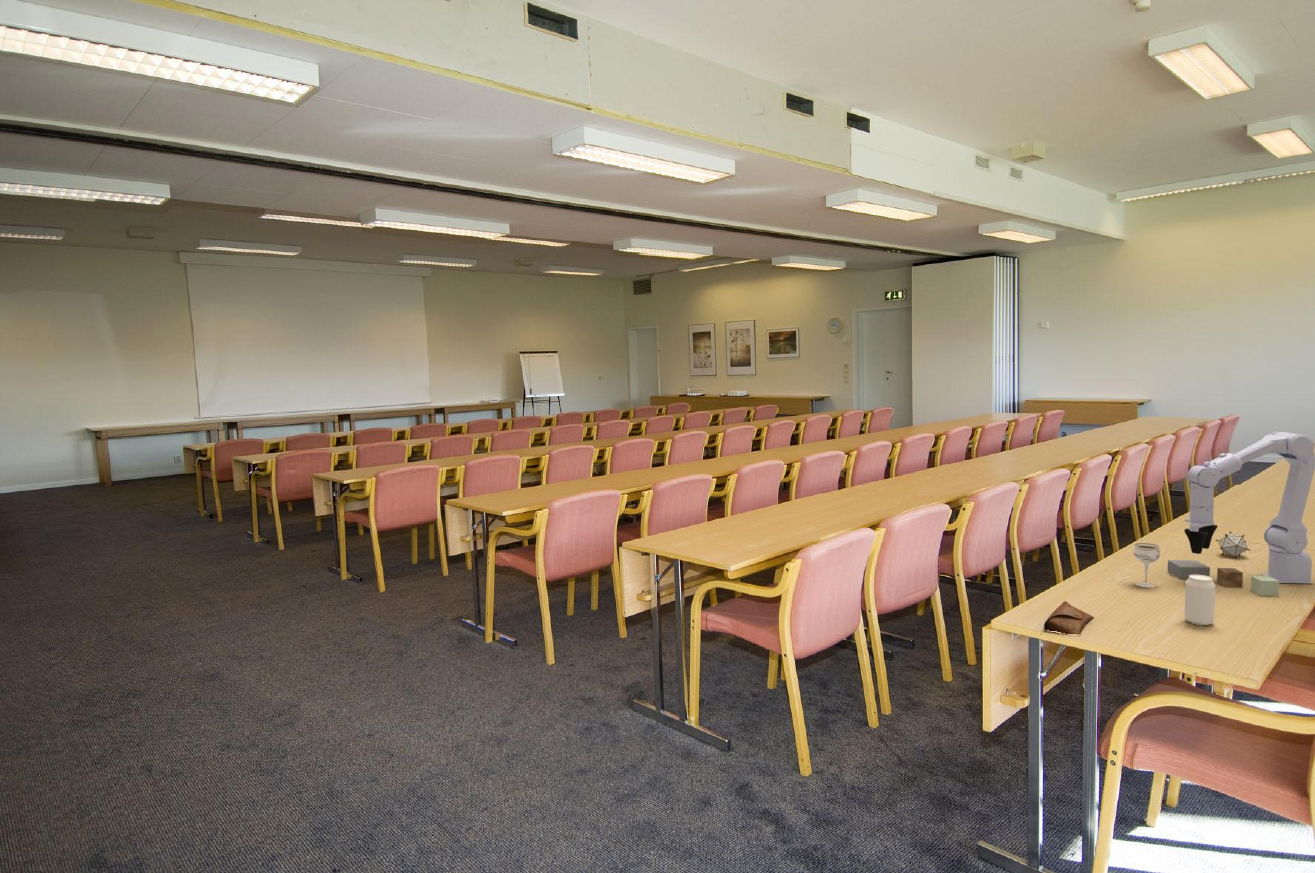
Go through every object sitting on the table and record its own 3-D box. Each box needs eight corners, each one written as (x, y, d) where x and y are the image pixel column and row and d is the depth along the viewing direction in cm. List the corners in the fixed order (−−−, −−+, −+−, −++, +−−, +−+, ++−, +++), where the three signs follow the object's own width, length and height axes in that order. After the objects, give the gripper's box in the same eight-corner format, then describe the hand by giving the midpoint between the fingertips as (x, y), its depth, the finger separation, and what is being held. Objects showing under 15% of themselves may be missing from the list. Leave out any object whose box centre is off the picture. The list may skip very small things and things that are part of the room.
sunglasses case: (1081, 637, 188) (1066, 612, 189) (1054, 646, 192) (1039, 621, 194) (1095, 616, 201) (1081, 593, 203) (1069, 625, 206) (1056, 602, 207)
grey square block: (1195, 572, 236) (1196, 560, 236) (1209, 580, 229) (1209, 567, 228) (1167, 572, 238) (1167, 560, 237) (1180, 579, 230) (1180, 567, 230)
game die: (1229, 568, 250) (1213, 546, 249) (1222, 553, 257) (1206, 531, 256) (1259, 558, 245) (1244, 535, 244) (1251, 543, 252) (1236, 521, 251)
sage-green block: (1269, 591, 216) (1269, 576, 215) (1278, 596, 212) (1279, 581, 211) (1251, 591, 217) (1251, 575, 216) (1260, 596, 212) (1260, 580, 212)
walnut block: (1233, 582, 225) (1234, 568, 224) (1242, 587, 220) (1242, 572, 220) (1216, 582, 226) (1217, 567, 225) (1224, 587, 221) (1225, 572, 221)
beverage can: (1181, 623, 195) (1183, 577, 193) (1187, 616, 199) (1188, 572, 198) (1211, 628, 190) (1212, 582, 189) (1216, 621, 194) (1217, 576, 193)
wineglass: (1135, 587, 224) (1136, 547, 223) (1130, 580, 230) (1131, 542, 229) (1161, 589, 221) (1163, 549, 220) (1156, 582, 228) (1157, 543, 226)
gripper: (1193, 500, 233) (1192, 543, 234) (1178, 508, 224) (1177, 553, 225) (1221, 503, 228) (1219, 547, 229) (1206, 511, 218) (1205, 557, 220)
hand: (1200, 550), depth 227 cm, fingers open, 7 cm apart
